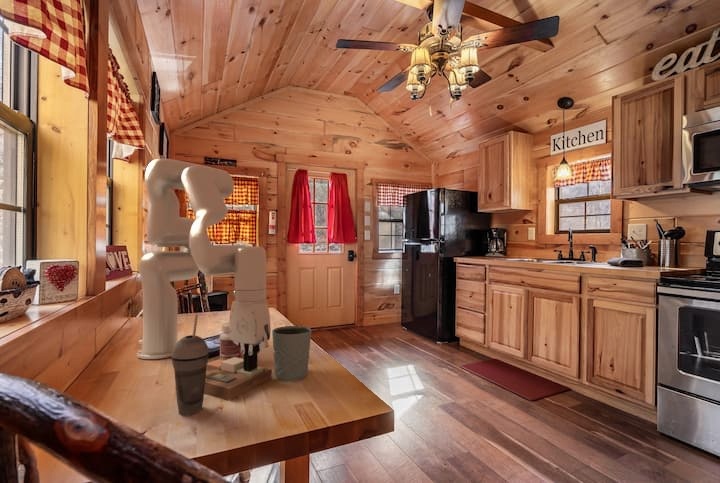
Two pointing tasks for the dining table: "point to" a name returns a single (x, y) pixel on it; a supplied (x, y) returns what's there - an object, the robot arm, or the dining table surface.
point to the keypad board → (232, 382)
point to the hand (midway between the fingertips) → (250, 369)
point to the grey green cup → (291, 352)
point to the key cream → (232, 364)
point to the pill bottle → (228, 345)
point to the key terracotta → (215, 364)
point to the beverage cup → (190, 372)
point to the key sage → (250, 372)
